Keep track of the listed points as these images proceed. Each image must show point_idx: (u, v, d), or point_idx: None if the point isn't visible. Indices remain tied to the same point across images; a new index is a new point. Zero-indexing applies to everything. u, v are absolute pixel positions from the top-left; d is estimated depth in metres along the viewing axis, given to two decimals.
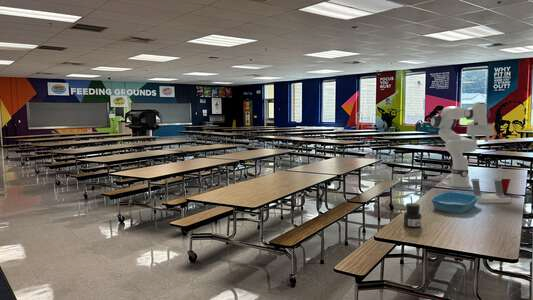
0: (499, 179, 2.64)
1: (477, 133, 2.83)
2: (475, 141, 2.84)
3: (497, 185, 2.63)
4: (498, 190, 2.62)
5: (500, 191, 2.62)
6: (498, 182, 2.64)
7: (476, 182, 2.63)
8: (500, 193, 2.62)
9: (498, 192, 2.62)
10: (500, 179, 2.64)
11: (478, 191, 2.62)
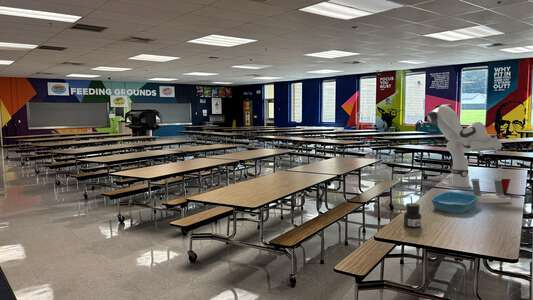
0: (499, 179, 2.64)
1: None
2: None
3: (497, 185, 2.63)
4: (498, 190, 2.62)
5: (500, 191, 2.62)
6: (498, 182, 2.64)
7: (476, 182, 2.63)
8: (500, 193, 2.62)
9: (498, 192, 2.62)
10: (500, 179, 2.64)
11: (478, 191, 2.62)
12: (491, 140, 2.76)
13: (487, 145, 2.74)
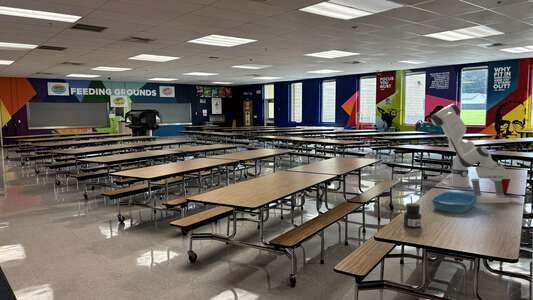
0: (500, 179, 2.64)
1: None
2: None
3: (497, 185, 2.63)
4: (498, 190, 2.62)
5: (500, 191, 2.62)
6: (498, 182, 2.64)
7: (476, 182, 2.63)
8: (500, 193, 2.62)
9: (498, 192, 2.62)
10: (500, 179, 2.64)
11: (478, 191, 2.62)
12: (497, 168, 2.71)
13: (495, 173, 2.69)
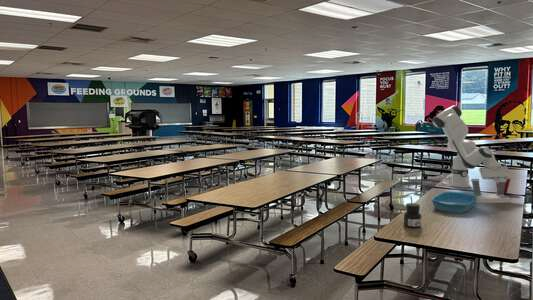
0: (504, 181, 2.59)
1: None
2: None
3: (500, 186, 2.60)
4: (499, 191, 2.61)
5: (501, 192, 2.61)
6: (502, 183, 2.60)
7: (476, 182, 2.63)
8: (500, 194, 2.62)
9: (499, 193, 2.61)
10: (505, 180, 2.59)
11: (478, 191, 2.62)
12: (501, 169, 2.67)
13: (499, 174, 2.64)
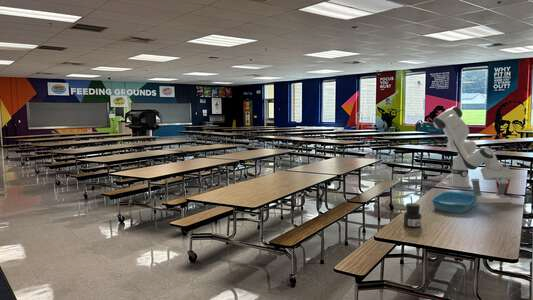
0: (506, 182, 2.57)
1: None
2: None
3: (501, 187, 2.59)
4: (500, 191, 2.61)
5: (501, 192, 2.61)
6: (503, 184, 2.58)
7: (476, 182, 2.63)
8: (500, 194, 2.62)
9: (499, 193, 2.61)
10: (507, 182, 2.57)
11: (478, 191, 2.62)
12: (503, 169, 2.65)
13: (500, 175, 2.63)
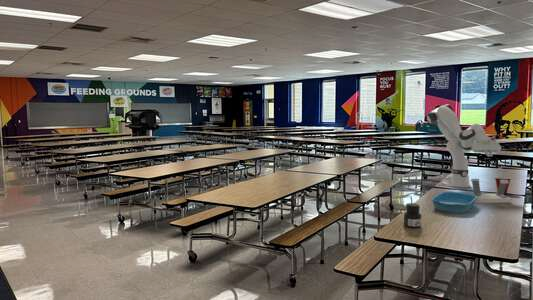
0: (506, 182, 2.57)
1: None
2: (490, 156, 2.74)
3: (501, 187, 2.59)
4: (500, 191, 2.61)
5: (501, 192, 2.61)
6: (503, 184, 2.58)
7: (476, 182, 2.63)
8: (500, 194, 2.62)
9: (499, 193, 2.61)
10: (507, 182, 2.57)
11: (478, 191, 2.62)
12: (491, 142, 2.78)
13: (488, 147, 2.76)
